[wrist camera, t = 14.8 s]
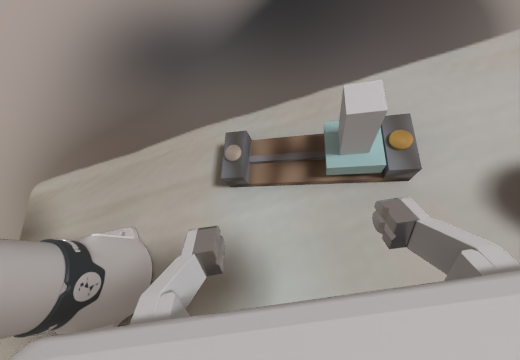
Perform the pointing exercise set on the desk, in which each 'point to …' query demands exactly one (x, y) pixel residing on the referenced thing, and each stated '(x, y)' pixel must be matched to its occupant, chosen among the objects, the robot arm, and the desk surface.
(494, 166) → the desk surface
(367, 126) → the block
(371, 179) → the rail
